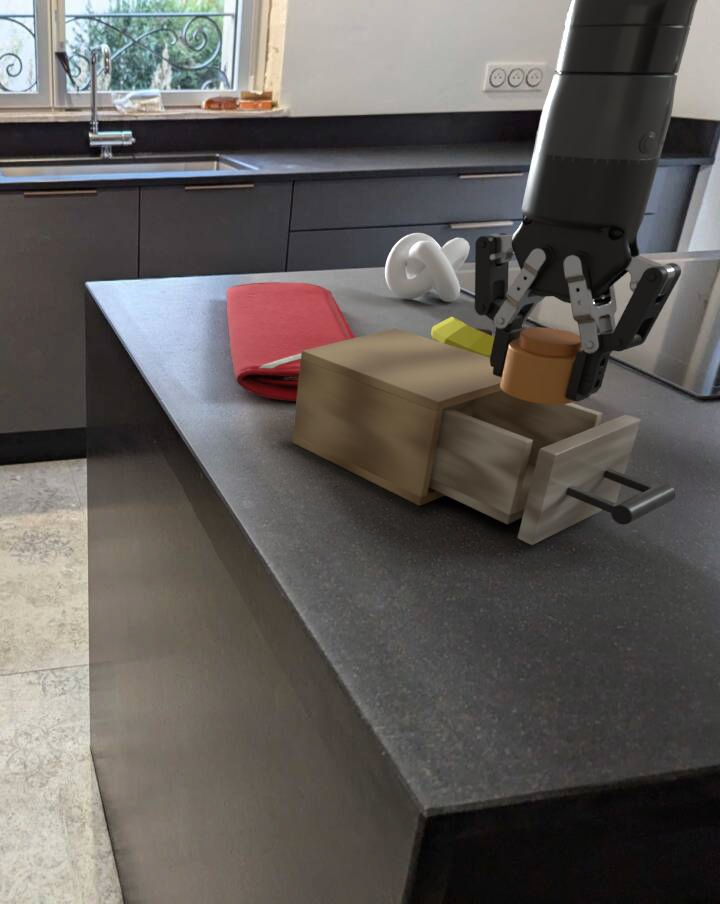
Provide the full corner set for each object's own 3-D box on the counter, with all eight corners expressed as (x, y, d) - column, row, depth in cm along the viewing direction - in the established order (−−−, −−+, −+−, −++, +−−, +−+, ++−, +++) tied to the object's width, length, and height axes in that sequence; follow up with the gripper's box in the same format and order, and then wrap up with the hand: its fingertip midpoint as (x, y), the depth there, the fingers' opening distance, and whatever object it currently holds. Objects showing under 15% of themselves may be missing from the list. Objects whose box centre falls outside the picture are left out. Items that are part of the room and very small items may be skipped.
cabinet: (512, 468, 73) (535, 371, 69) (419, 506, 66) (438, 401, 63) (382, 414, 84) (395, 328, 80) (291, 442, 77) (301, 350, 74)
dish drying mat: (331, 302, 122) (334, 277, 120) (384, 408, 85) (389, 374, 84) (225, 299, 123) (226, 275, 122) (231, 402, 87) (233, 368, 85)
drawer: (679, 529, 62) (709, 441, 58) (595, 576, 56) (624, 481, 53) (468, 443, 75) (483, 368, 72) (384, 474, 70) (397, 394, 66)
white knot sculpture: (419, 283, 133) (428, 226, 129) (485, 299, 124) (497, 239, 120) (372, 293, 127) (380, 234, 124) (438, 310, 118) (449, 248, 115)
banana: (546, 357, 87) (607, 352, 96) (409, 310, 99) (474, 309, 108) (531, 398, 89) (592, 388, 98) (397, 347, 101) (463, 343, 110)
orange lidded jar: (526, 374, 66) (538, 321, 64) (592, 395, 62) (608, 338, 60) (485, 387, 63) (496, 332, 61) (551, 410, 59) (566, 351, 57)
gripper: (742, 155, 51) (663, 406, 59) (529, 138, 62) (485, 352, 69) (683, 162, 48) (607, 429, 55) (467, 142, 58) (428, 368, 66)
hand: (539, 385), depth 62 cm, fingers closed on orange lidded jar, 5 cm apart
